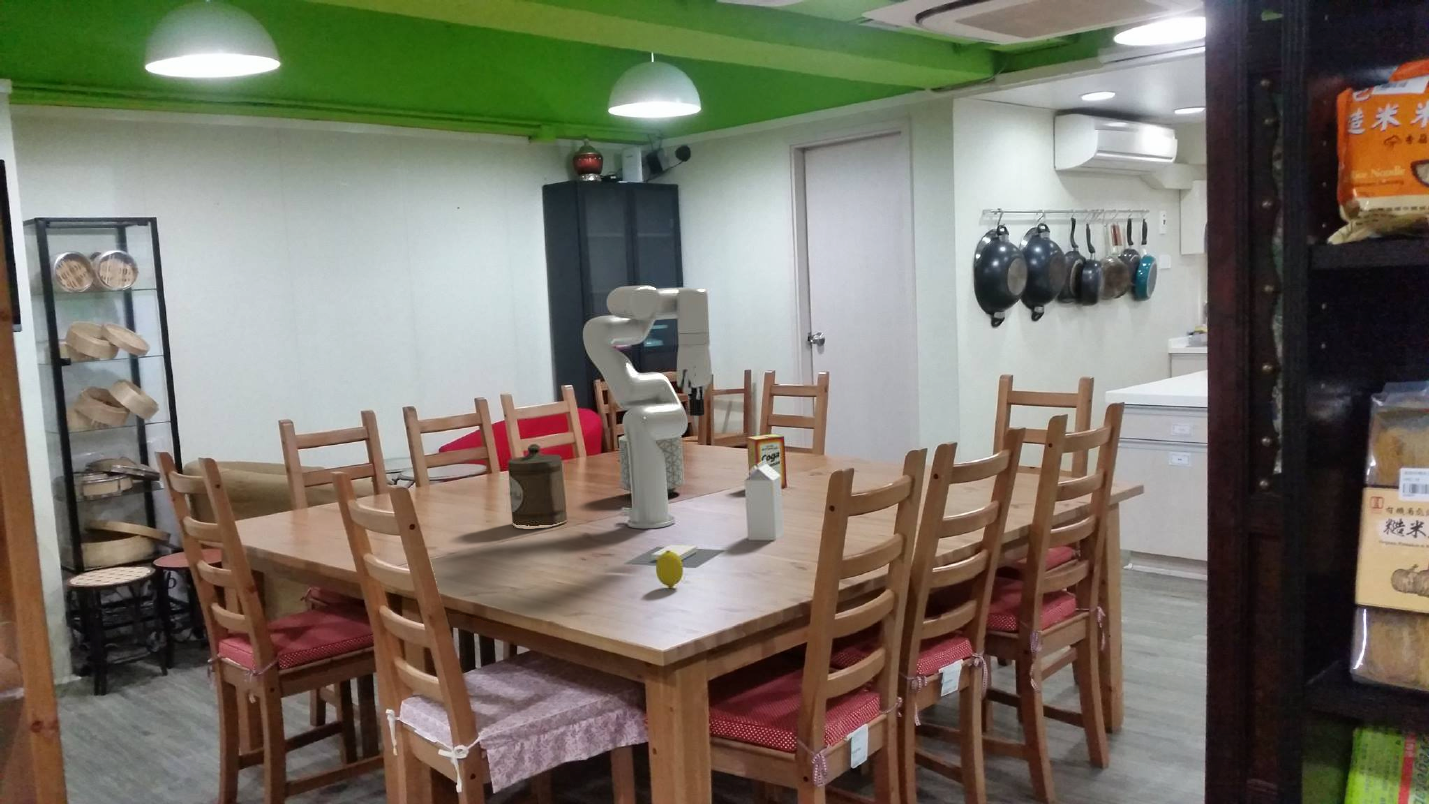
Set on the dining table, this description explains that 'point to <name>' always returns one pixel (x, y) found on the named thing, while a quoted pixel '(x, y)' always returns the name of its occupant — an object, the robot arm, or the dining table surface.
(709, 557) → the mat
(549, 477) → the wooden container
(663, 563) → the lemon
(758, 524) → the milk carton
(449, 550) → the dining table surface
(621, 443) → the planter
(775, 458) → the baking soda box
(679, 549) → the tile
